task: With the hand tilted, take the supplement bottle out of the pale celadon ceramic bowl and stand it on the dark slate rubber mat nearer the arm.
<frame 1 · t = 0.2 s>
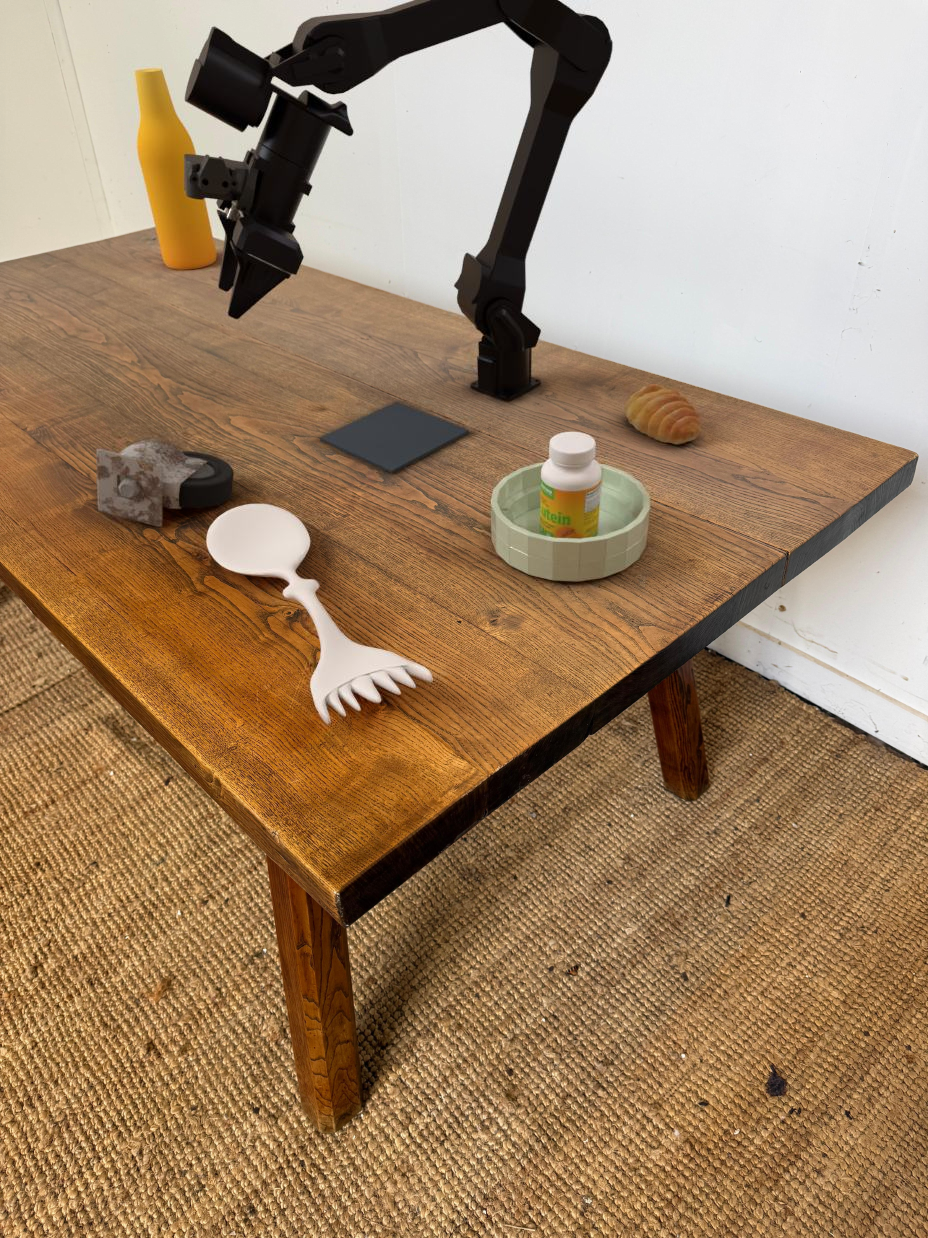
hand: (227, 302, 93), 15 cm above the table, tool tilted 35°, fingers open, 9 cm apart
mat: (394, 436, 100), on the table
bowl: (568, 539, 82), on the table
caster wheel: (178, 502, 91), on the table
spoon: (304, 615, 75), on the table
supplement bottle: (568, 537, 82), resting on bowl
pastry: (662, 428, 99), on the table
beer bottle: (191, 263, 155), on the table
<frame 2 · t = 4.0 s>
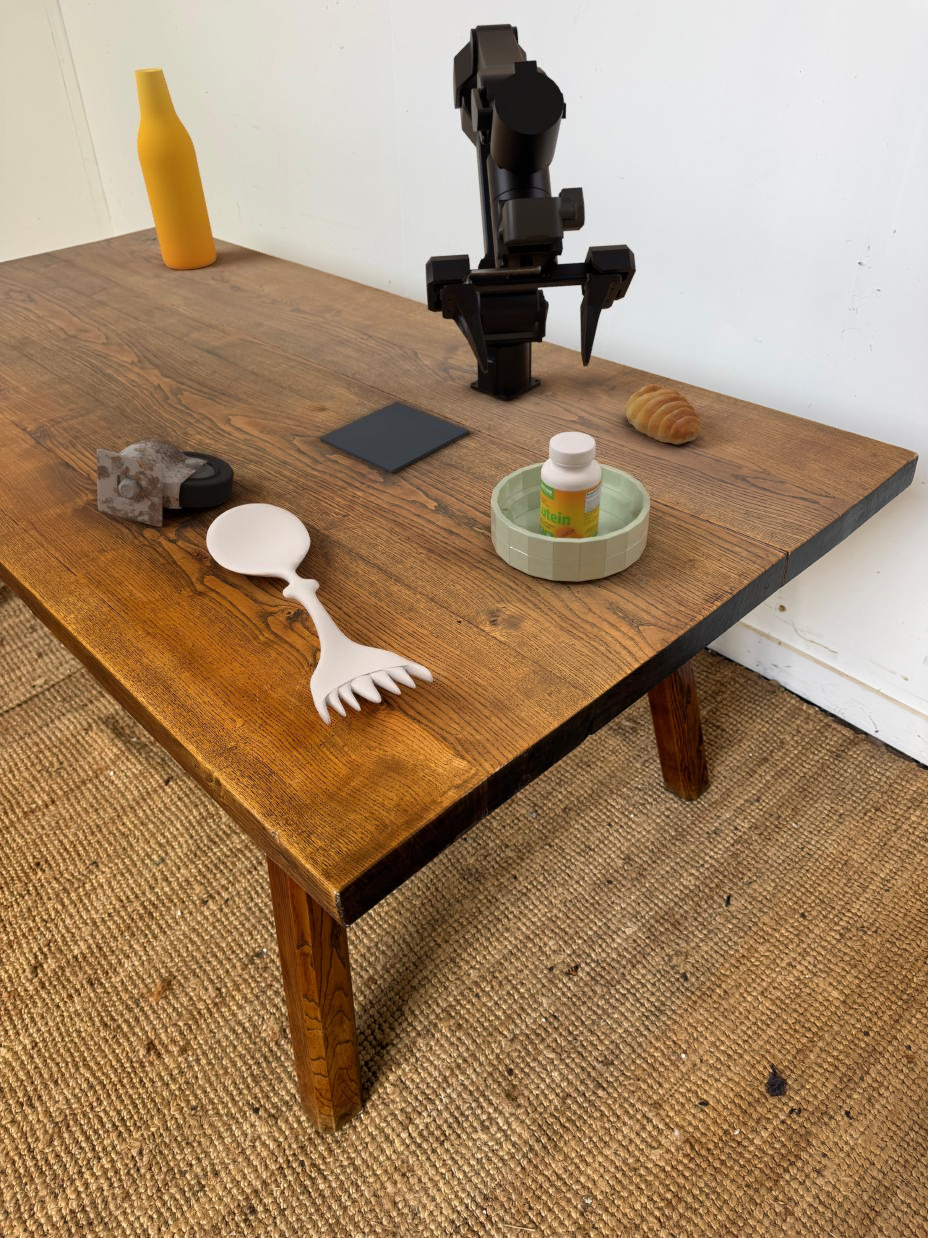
hand: (536, 368, 80), 14 cm above the table, tool tilted 45°, fingers open, 9 cm apart
nothing on the table moved.
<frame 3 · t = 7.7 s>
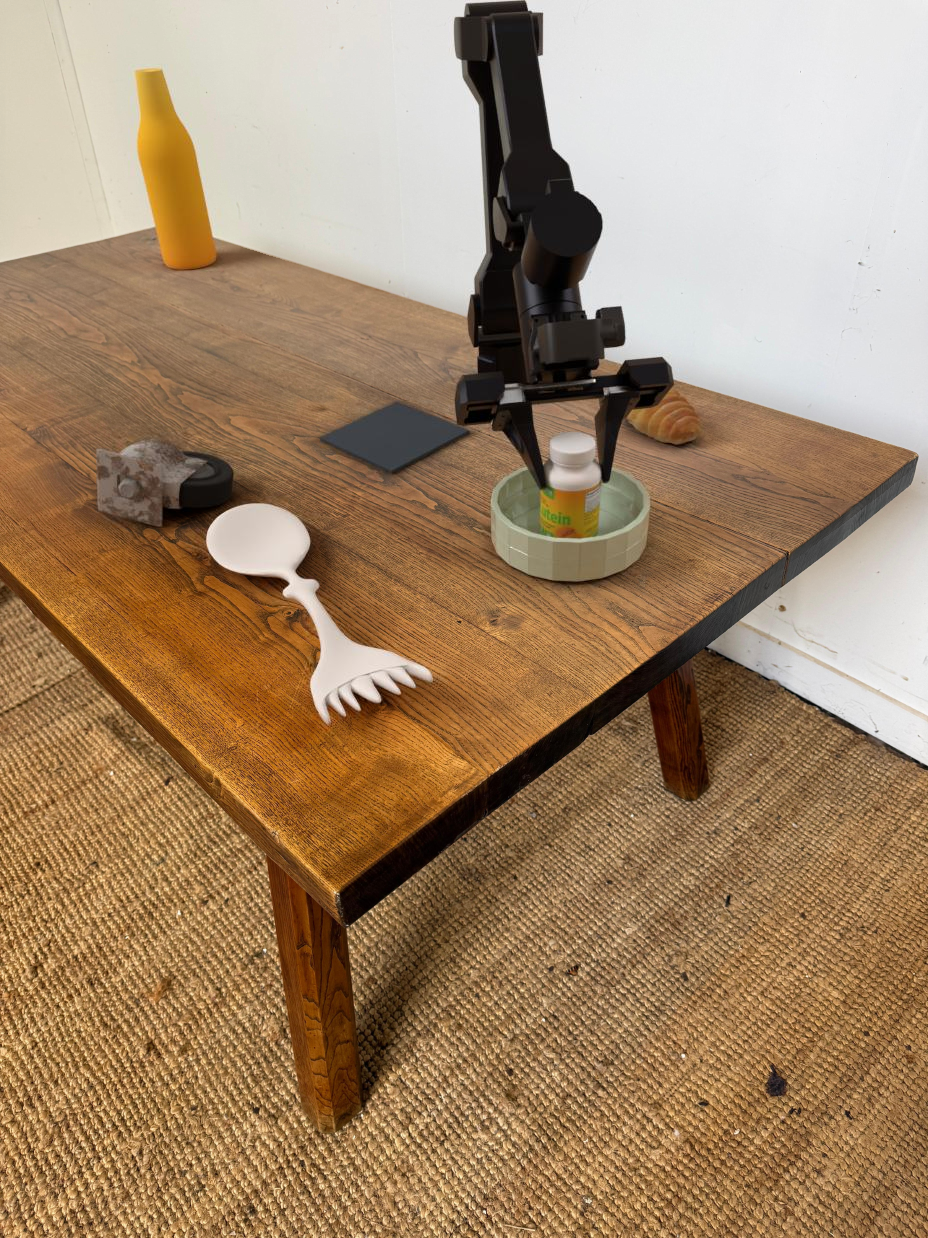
hand: (574, 485, 77), 7 cm above the table, tool tilted 45°, fingers closed on supplement bottle, 5 cm apart
supplement bottle: (568, 537, 82), resting on bowl, touching gripper
everything else where it was.
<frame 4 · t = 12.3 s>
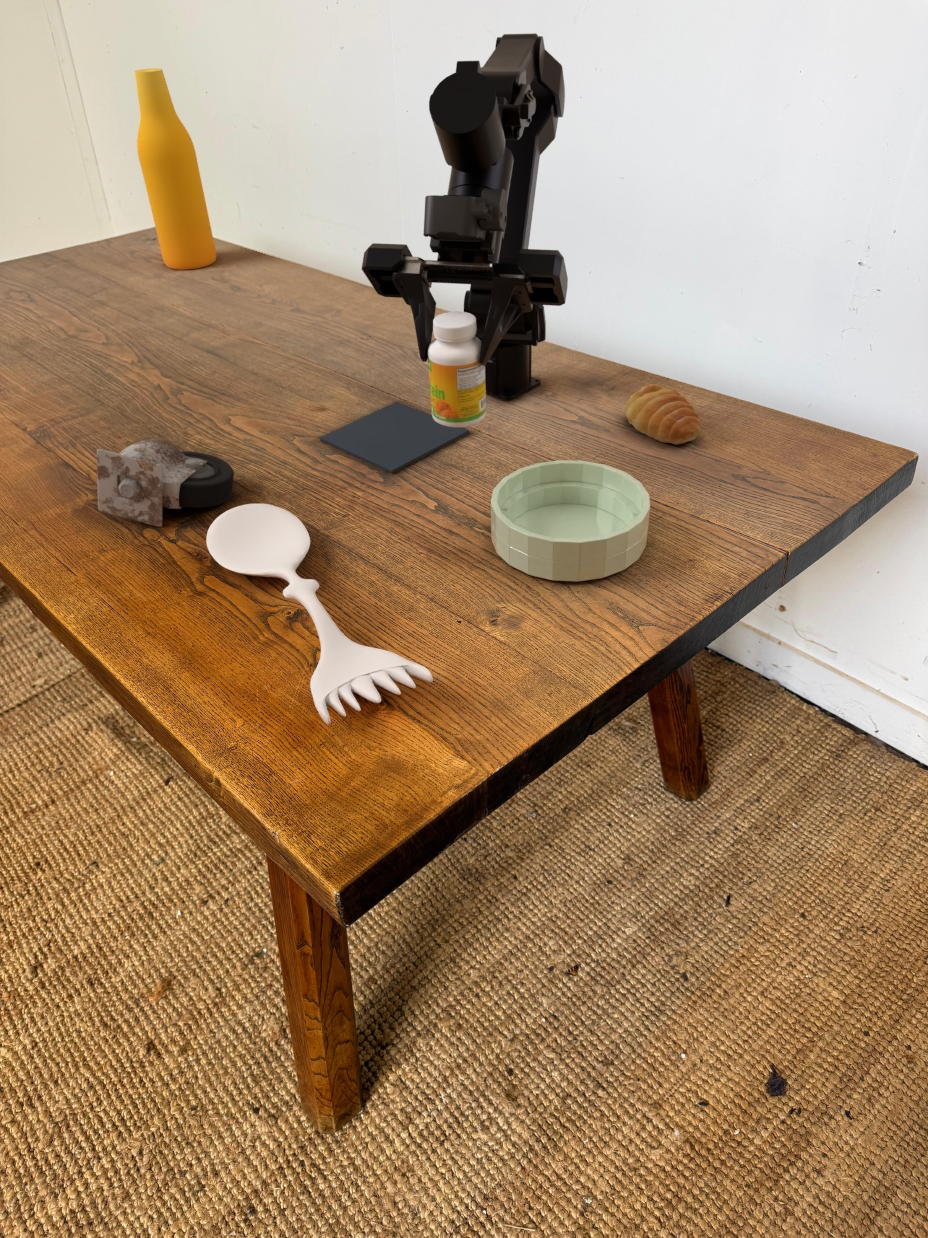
hand: (452, 361, 82), 14 cm above the table, tool tilted 45°, fingers closed on supplement bottle, 5 cm apart
supplement bottle: (459, 417, 87), point 7 cm above the table, touching gripper
everything else where it was.
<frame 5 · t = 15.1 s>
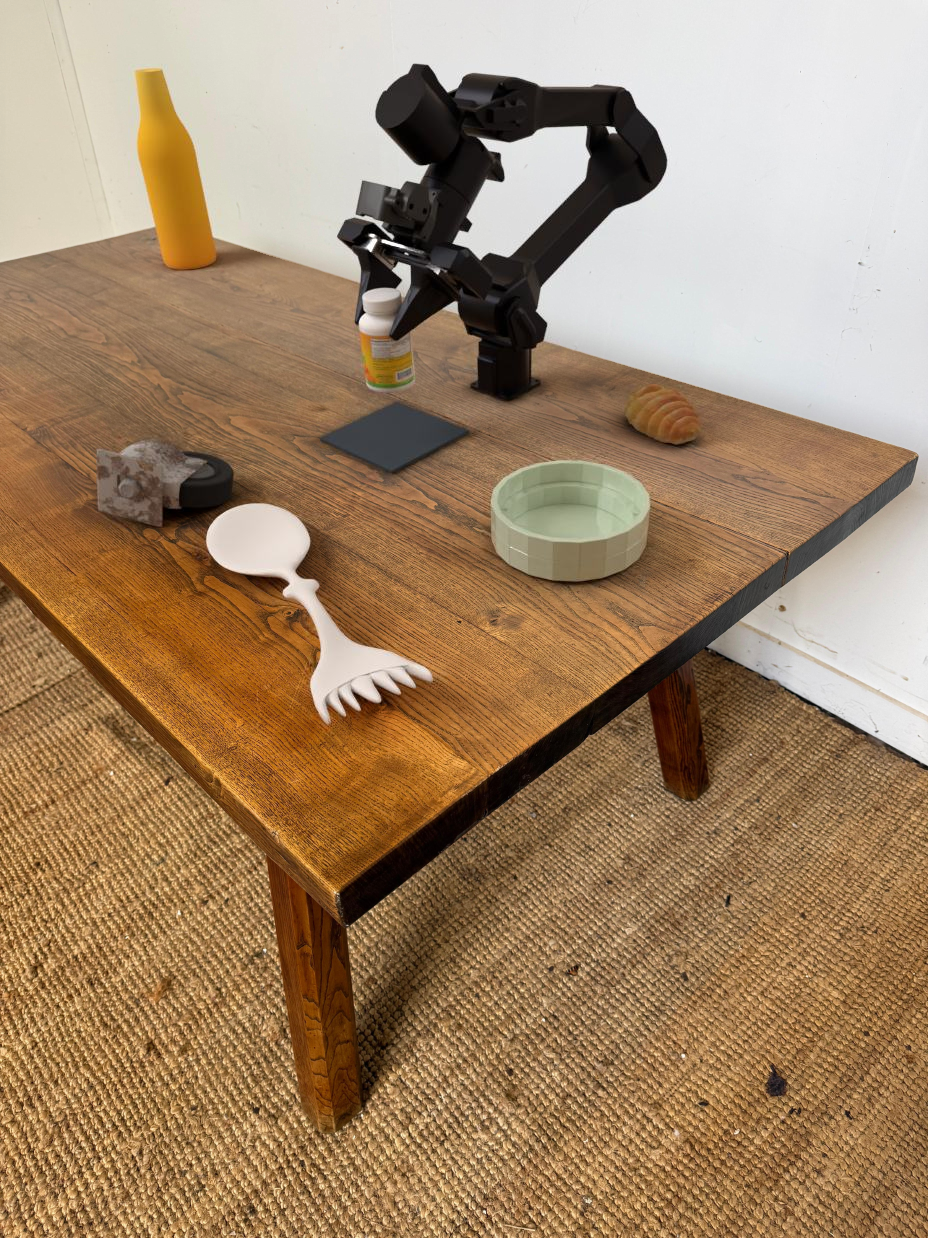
hand: (375, 331, 91), 12 cm above the table, tool tilted 45°, fingers closed on supplement bottle, 5 cm apart
supplement bottle: (391, 385, 96), point 6 cm above the table, touching gripper
everything else where it was.
when the fingers open (7 cm above the table, at t = 17.2 s): supplement bottle stays where it is, resting on mat.
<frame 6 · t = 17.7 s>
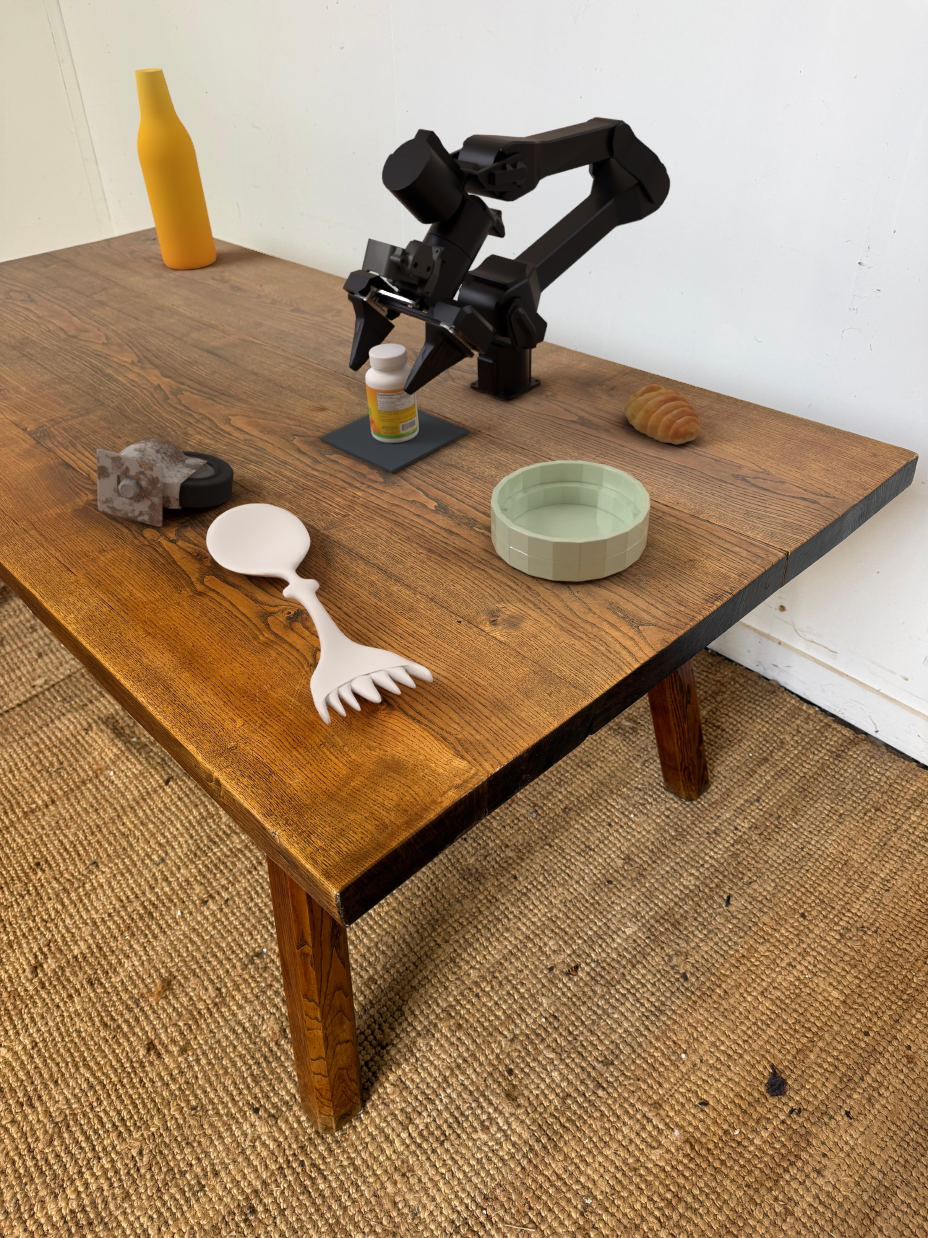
hand: (378, 380, 95), 7 cm above the table, tool tilted 45°, fingers open, 9 cm apart
supplement bottle: (395, 434, 100), resting on mat
everything else where it was.
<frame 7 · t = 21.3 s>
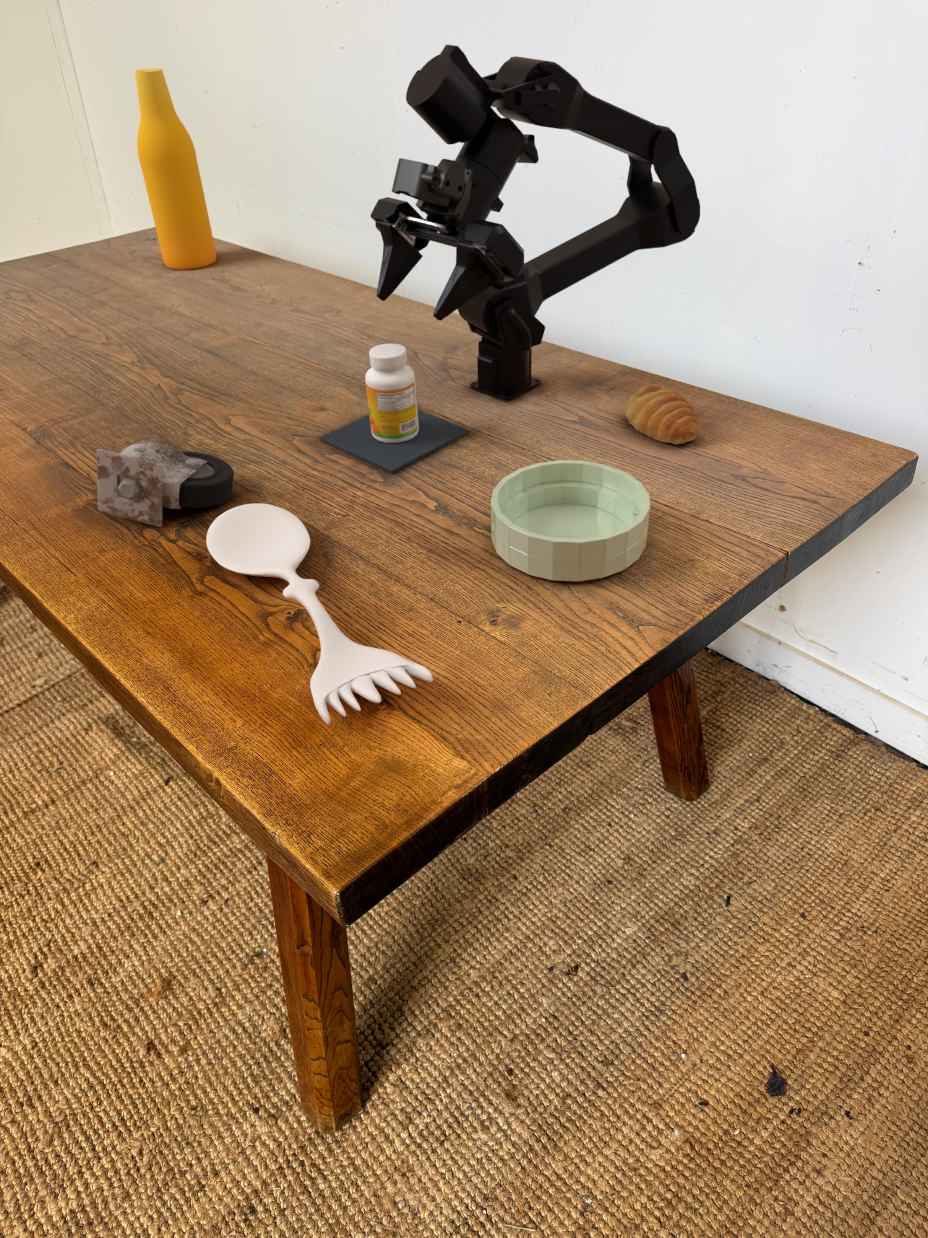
hand: (407, 308, 93), 14 cm above the table, tool tilted 45°, fingers open, 9 cm apart
nothing on the table moved.
at the end: supplement bottle inside the target area on the mat (0.1 cm from its centre), point 0.2 cm above the mat's base; supplement bottle tilted 0°; supplement bottle touching mat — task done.
